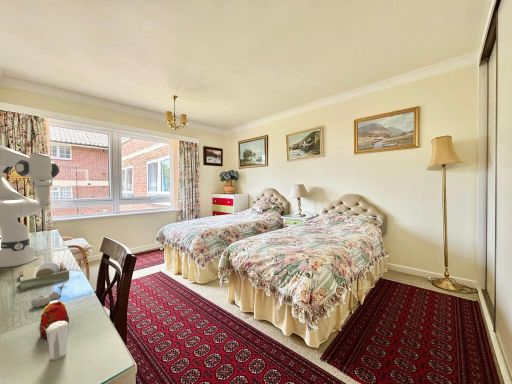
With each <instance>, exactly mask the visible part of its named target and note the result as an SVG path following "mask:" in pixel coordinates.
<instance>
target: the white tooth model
mask: <svg viewBox="0 0 512 384" xmlns="http://www.w3.org/2000/svg"><path fill="white" fill-rule="evenodd" d="M43 328H44V327H43ZM44 329H45V328H44ZM45 330H46V334H47V339H46V340H47V344H48V351H49V352H48V353H49V359H50V361H58V360H61V358H64V357H65V356H66V354H67V345H68V332H69V331H68V330H69V325H68V322H66V321H57V322H55V323H52V324H51V325H50V326H49V327H48V328H47V329H45Z"/></svg>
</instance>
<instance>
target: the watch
mask: <svg viewBox="0 0 512 384" xmlns="http://www.w3.org/2000/svg"><path fill="white" fill-rule="evenodd" d="M58 300H59V299H58ZM58 300H54V301H51V302H50V303H48V304H46V305H45V307H44V309H43V310H42V314H43V313H44V312H45V309H46V308H47V307H48V306H50V305H51V304H52V303H54V302H58ZM59 302H61V303H62V305H64V307H65V308H67V307H66V304H65V303H64V302H63V301H60V300H59Z"/></svg>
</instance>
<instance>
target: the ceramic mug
mask: <svg viewBox="0 0 512 384" xmlns="http://www.w3.org/2000/svg"><path fill="white" fill-rule="evenodd" d="M58 272H62V271H61V269H60V265H59V264H57V263H55V262H47V263H45V264H43V265H42V266H41V267H40V268H39V270H37V272H36V274H35V277H40V276H44V275H49V274H54V273H58Z"/></svg>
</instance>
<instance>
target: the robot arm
mask: <svg viewBox="0 0 512 384" xmlns="http://www.w3.org/2000/svg"><path fill="white" fill-rule="evenodd" d="M13 168H14V169H15V173H17V175H18V176H20V177H24V178H29V181H30V182H29V183H30V187H33V189H34V190H35V193H36V194H35V195H36V196H35V197H36V199H37V200H36V199H32V198H29V197H27V196H26V195H25V196H24V195H23V194H21V193H20V192H18V191H17V190H16V189H14V187H13V186H12V184H11V183H10V182H9V181H8V180H7V179H6V178H5V177H4V174H8V173H9V172H10V171H12V169H13ZM59 173H60V167H59V166H58V165H57V163H55V162H54V161H52V158H51V157H50V155H48V154H45V153H37V152H36V153H35V152H33V153H31V154H30V155H29V156H28V155H27V154H24V153H21V152H19V151H16V150H14V149H11V148H9V147H7V146H4V145H1V144H0V233H1V242H0V268H8V267H16V266H20V265H21V266H22V265H25V264H28V263H31V262H33V261H36V260H38V257H37V256H35V255H34V252H35V251H34V247H33V246H32V245H30V243H31V241H30V240H31V239H30V237H29V227H28V225H26V224H24V223H21V222H19V220H18V218H26V217H32V216H36V215H38V214H39V213H40V211H41V209H45V208H46V201H48V200H49V199H50V198H49V197H50V187H53V179H54V178H55V177H57V176H58V175H59Z"/></svg>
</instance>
